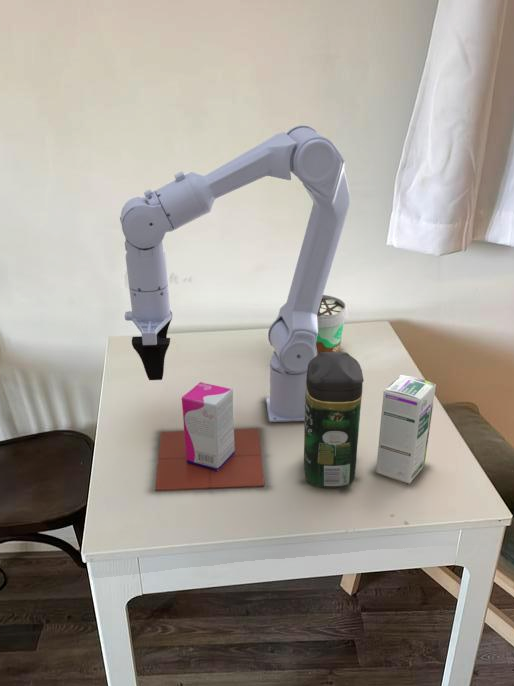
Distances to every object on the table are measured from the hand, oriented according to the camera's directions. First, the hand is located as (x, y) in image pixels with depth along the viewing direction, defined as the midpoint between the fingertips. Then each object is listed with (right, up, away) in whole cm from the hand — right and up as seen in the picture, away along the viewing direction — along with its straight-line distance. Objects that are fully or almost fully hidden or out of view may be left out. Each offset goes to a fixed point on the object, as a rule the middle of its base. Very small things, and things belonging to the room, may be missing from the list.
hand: (156, 367), depth 111 cm
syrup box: (+38, -17, -4) cm, 42 cm away
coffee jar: (+27, -17, -5) cm, 32 cm away
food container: (+30, +7, +28) cm, 42 cm away
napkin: (+9, -15, -2) cm, 17 cm away
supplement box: (+9, -15, -3) cm, 17 cm away
